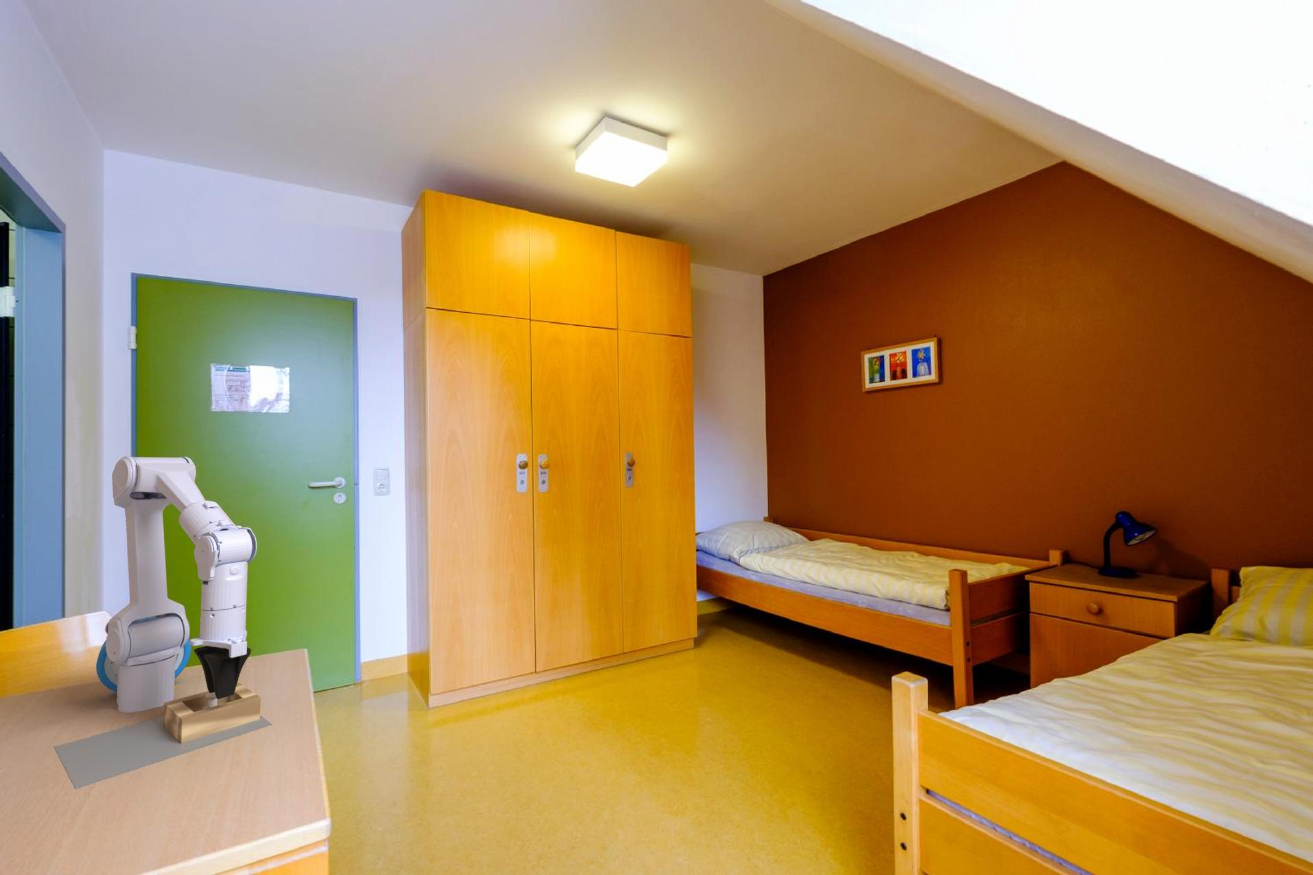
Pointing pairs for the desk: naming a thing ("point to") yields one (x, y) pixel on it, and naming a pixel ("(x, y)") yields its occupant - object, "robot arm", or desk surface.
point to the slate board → (135, 748)
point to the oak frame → (209, 714)
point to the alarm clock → (109, 669)
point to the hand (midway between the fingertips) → (221, 693)
